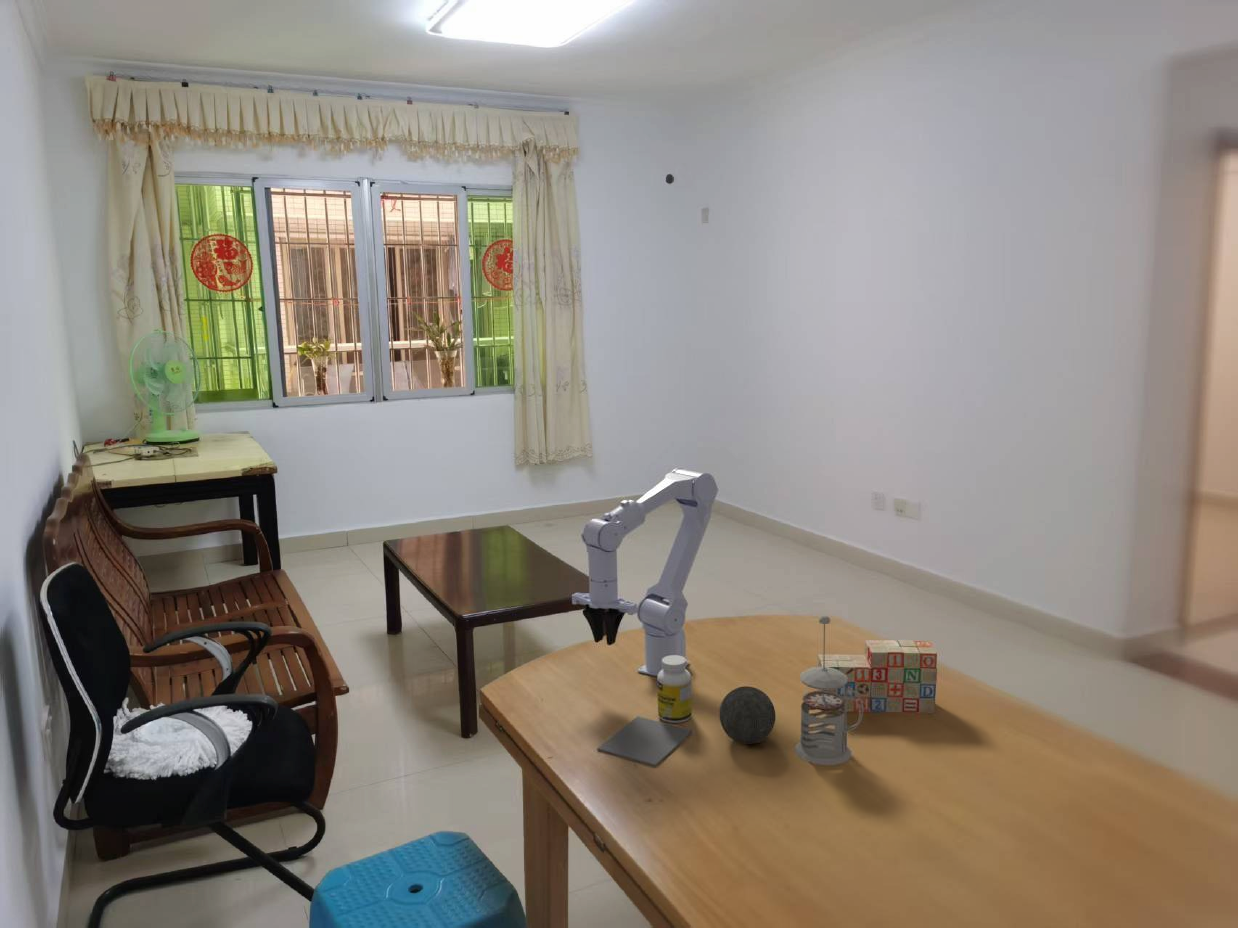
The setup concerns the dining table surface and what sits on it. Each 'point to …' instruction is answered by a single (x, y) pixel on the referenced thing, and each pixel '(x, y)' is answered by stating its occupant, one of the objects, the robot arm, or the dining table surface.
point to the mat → (645, 741)
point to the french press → (827, 742)
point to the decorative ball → (747, 715)
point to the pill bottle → (674, 690)
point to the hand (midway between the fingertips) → (605, 642)
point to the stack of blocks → (888, 676)
